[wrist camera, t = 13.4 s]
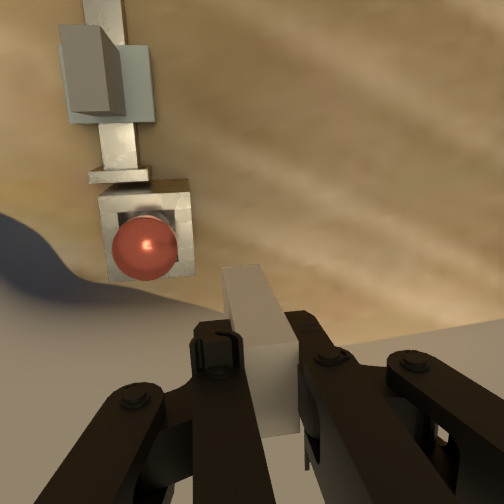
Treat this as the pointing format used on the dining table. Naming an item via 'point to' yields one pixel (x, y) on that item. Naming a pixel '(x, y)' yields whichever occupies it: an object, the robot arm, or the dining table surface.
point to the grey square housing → (148, 199)
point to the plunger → (145, 246)
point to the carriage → (105, 78)
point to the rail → (115, 134)
